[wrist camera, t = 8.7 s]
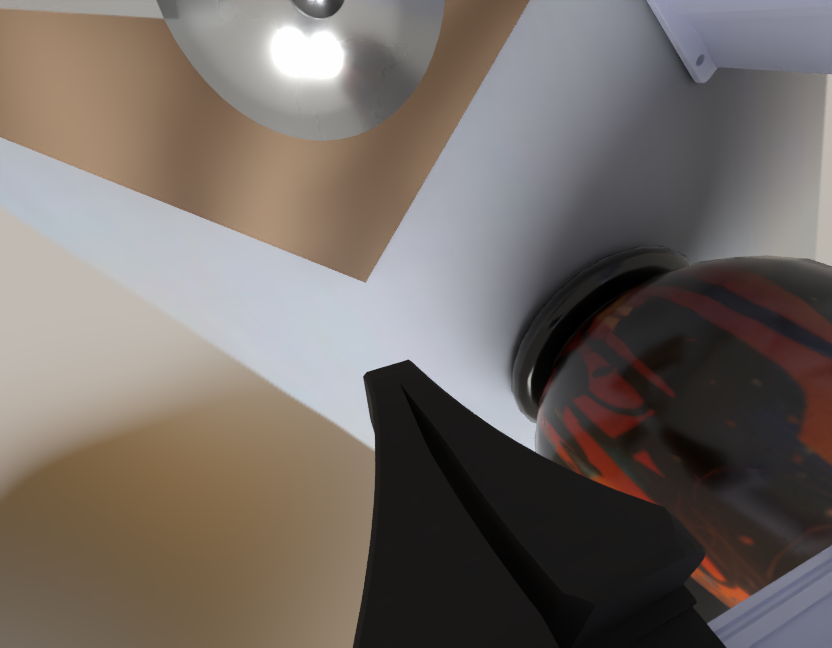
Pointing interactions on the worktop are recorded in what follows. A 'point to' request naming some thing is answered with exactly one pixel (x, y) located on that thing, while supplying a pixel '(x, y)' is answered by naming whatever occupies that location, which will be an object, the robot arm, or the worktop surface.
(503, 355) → the worktop surface
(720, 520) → the amphora vase
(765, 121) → the worktop surface
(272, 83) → the silver disc with handle
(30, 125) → the base board
